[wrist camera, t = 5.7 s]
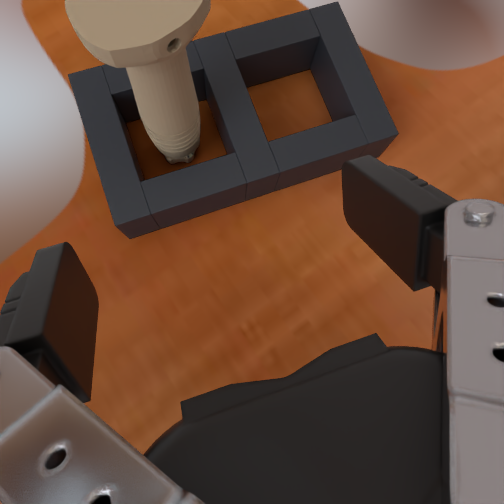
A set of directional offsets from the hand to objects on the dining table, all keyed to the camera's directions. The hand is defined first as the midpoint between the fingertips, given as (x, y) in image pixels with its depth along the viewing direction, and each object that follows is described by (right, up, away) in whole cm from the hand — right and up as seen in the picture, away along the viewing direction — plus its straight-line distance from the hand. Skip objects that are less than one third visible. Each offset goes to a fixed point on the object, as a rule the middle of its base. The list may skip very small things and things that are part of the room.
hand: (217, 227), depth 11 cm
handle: (-5, +8, +21) cm, 23 cm away
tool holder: (0, +9, +21) cm, 23 cm away
